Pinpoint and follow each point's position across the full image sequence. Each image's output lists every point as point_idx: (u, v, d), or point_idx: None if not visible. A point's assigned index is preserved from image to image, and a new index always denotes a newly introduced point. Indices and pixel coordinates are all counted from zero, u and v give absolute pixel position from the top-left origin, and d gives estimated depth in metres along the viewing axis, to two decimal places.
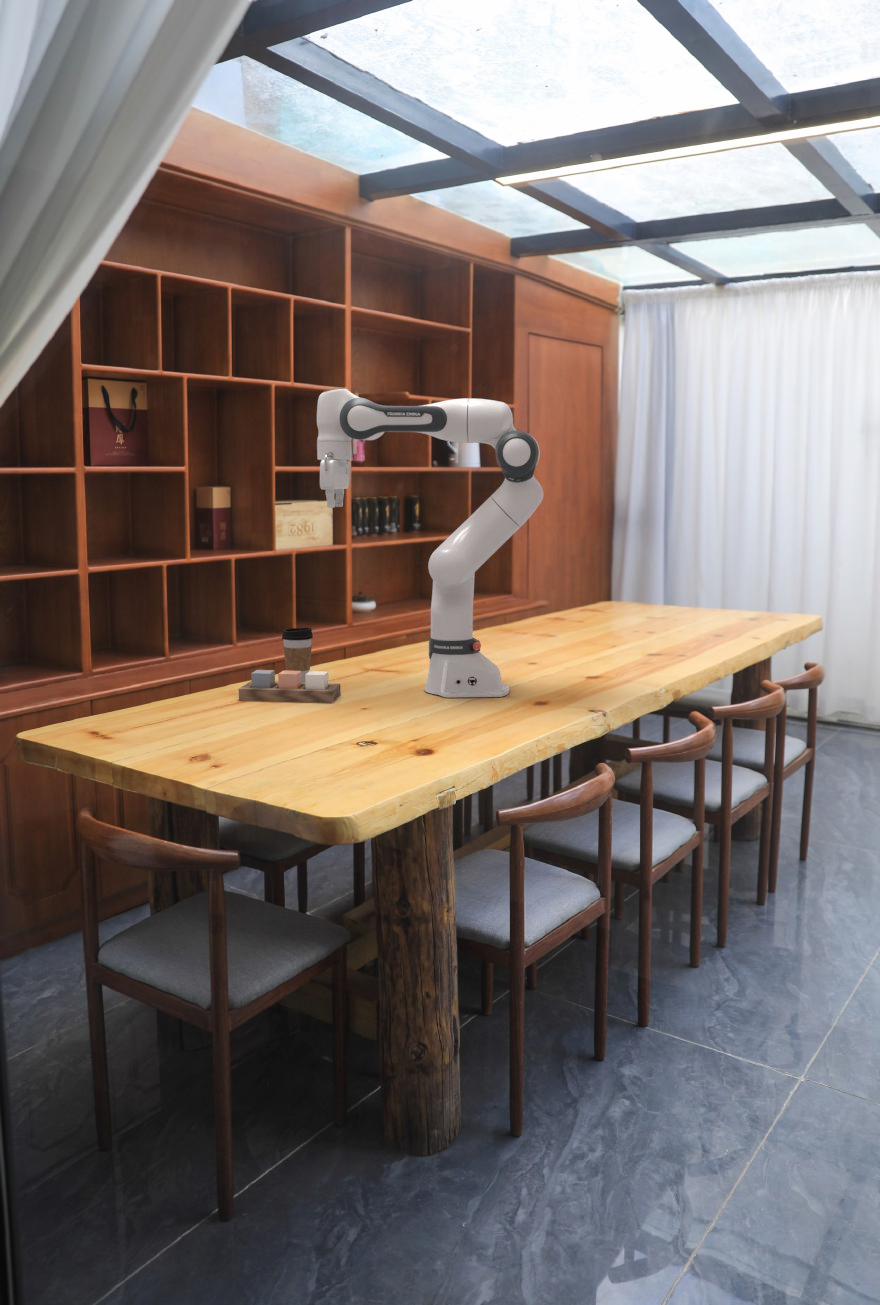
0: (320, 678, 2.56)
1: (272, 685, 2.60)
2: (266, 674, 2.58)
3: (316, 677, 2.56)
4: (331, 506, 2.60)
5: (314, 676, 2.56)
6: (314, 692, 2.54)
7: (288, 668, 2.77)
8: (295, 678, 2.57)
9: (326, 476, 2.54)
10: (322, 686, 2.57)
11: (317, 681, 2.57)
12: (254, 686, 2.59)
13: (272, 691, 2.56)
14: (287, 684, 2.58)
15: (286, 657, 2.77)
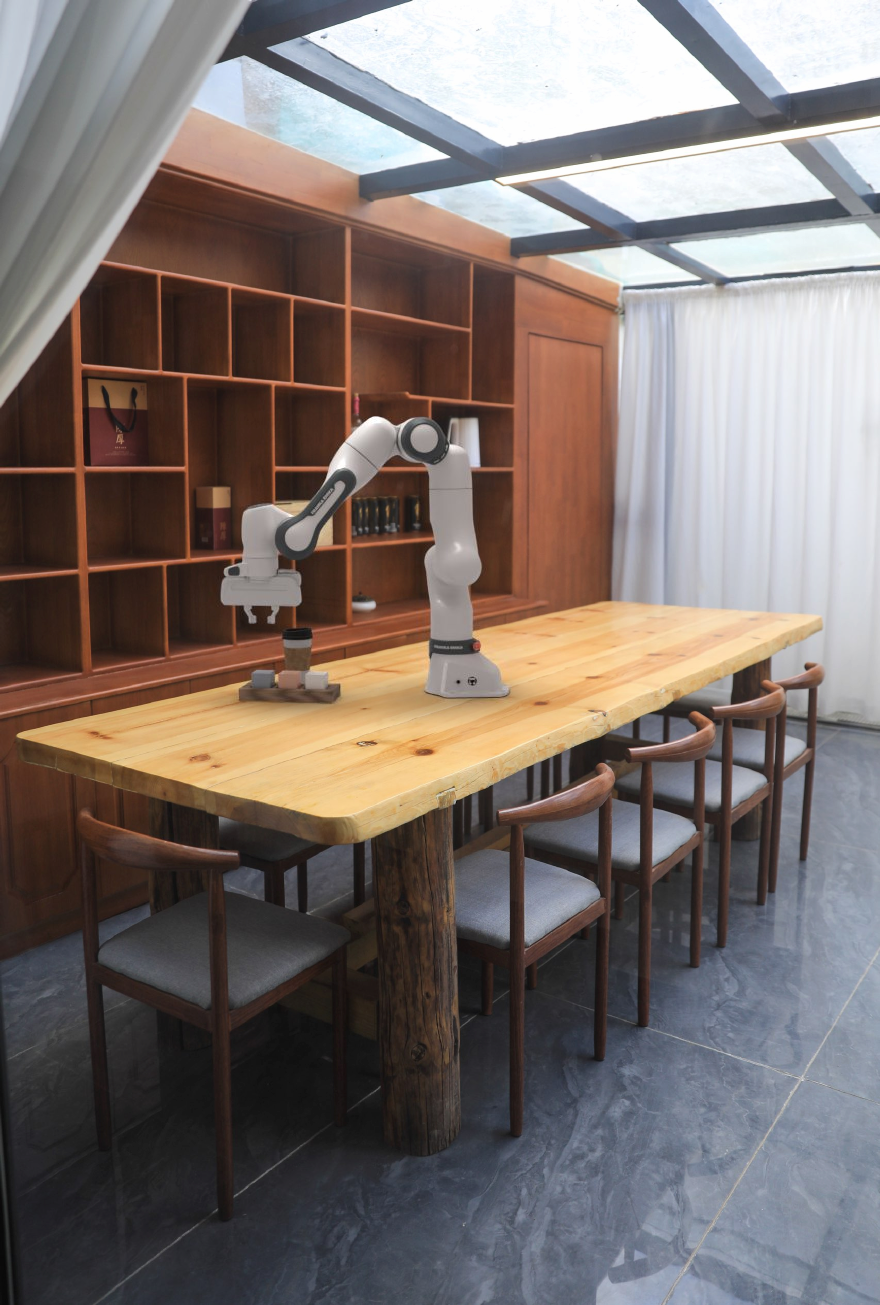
0: (320, 678, 2.56)
1: (272, 685, 2.60)
2: (266, 674, 2.58)
3: (316, 677, 2.56)
4: (274, 622, 2.58)
5: (314, 676, 2.56)
6: (314, 692, 2.54)
7: (288, 668, 2.77)
8: (295, 678, 2.57)
9: (299, 592, 2.56)
10: (322, 686, 2.57)
11: (317, 681, 2.57)
12: (254, 686, 2.59)
13: (272, 691, 2.56)
14: (287, 684, 2.58)
15: (286, 657, 2.77)
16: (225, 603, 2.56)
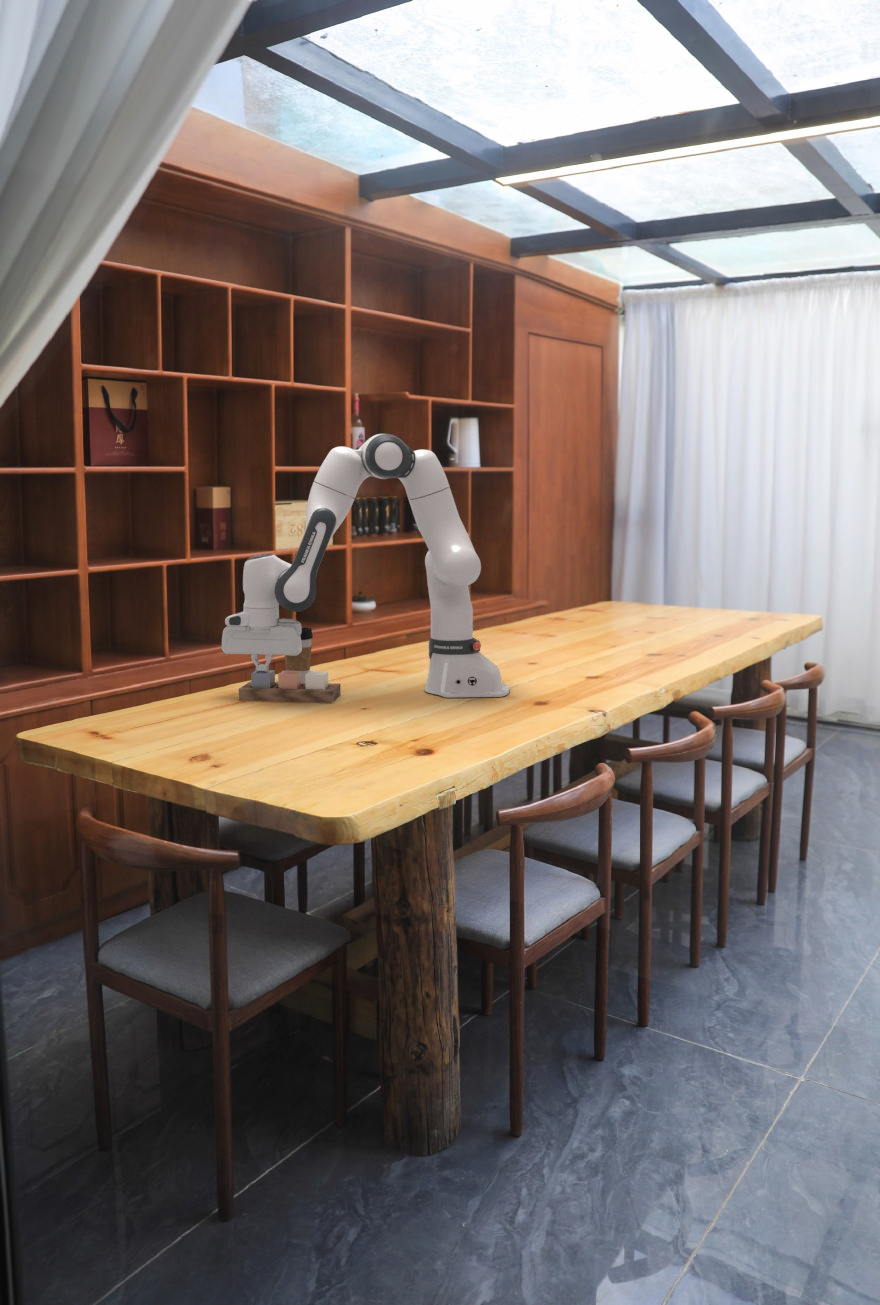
0: (320, 678, 2.56)
1: (272, 685, 2.60)
2: (266, 674, 2.58)
3: (316, 677, 2.56)
4: (268, 670, 2.60)
5: (314, 676, 2.56)
6: (314, 692, 2.54)
7: (288, 668, 2.77)
8: (295, 678, 2.57)
9: (300, 642, 2.58)
10: (322, 686, 2.57)
11: (317, 681, 2.57)
12: (254, 686, 2.59)
13: (272, 691, 2.56)
14: (287, 684, 2.58)
15: (286, 657, 2.77)
16: (226, 652, 2.58)
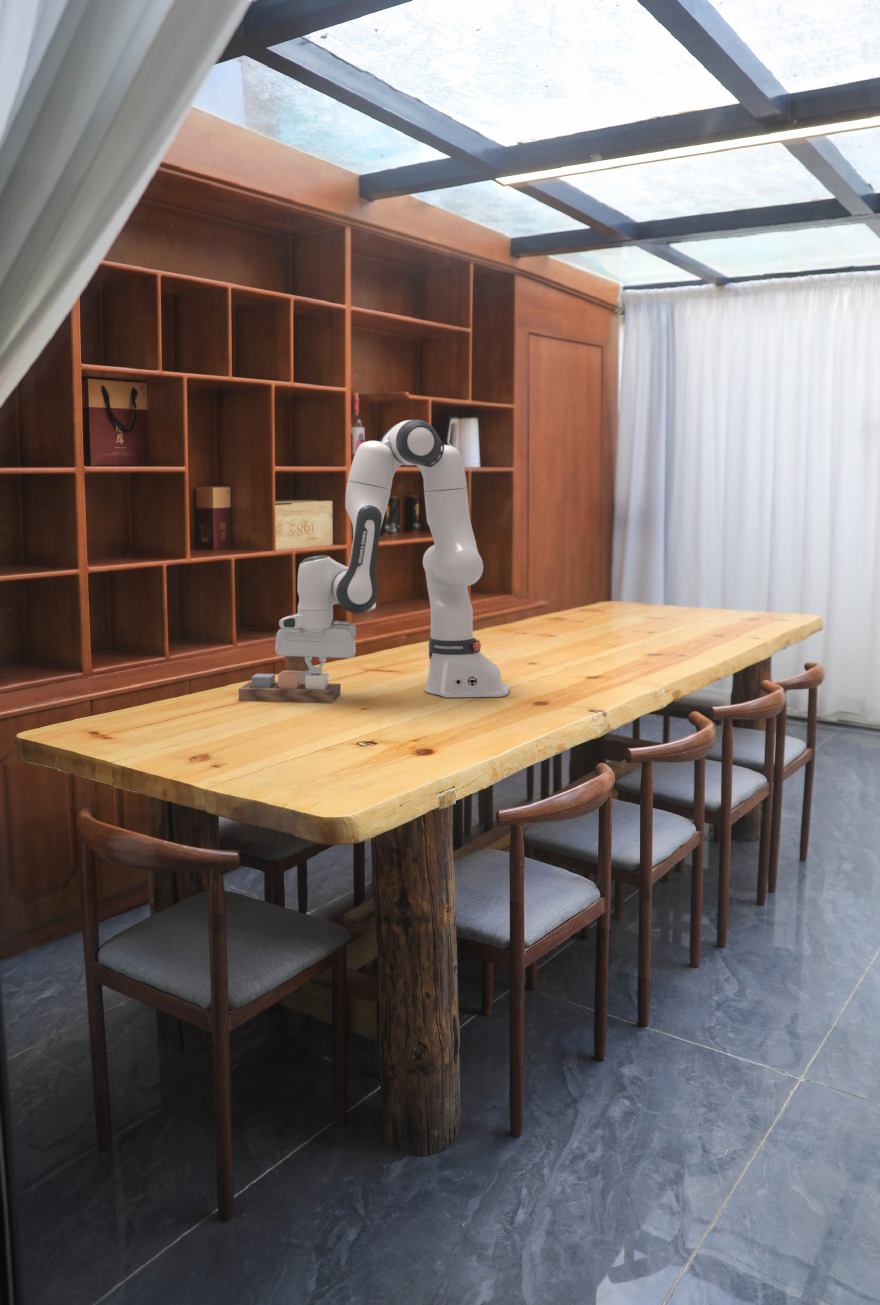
0: (320, 679, 2.56)
1: None
2: (266, 678, 2.58)
3: (316, 678, 2.56)
4: (321, 672, 2.59)
5: (314, 677, 2.56)
6: (314, 692, 2.54)
7: (288, 668, 2.77)
8: (295, 678, 2.57)
9: (354, 644, 2.56)
10: (322, 687, 2.57)
11: (317, 682, 2.57)
12: None
13: (272, 691, 2.56)
14: (287, 684, 2.58)
15: (286, 657, 2.77)
16: (279, 654, 2.57)
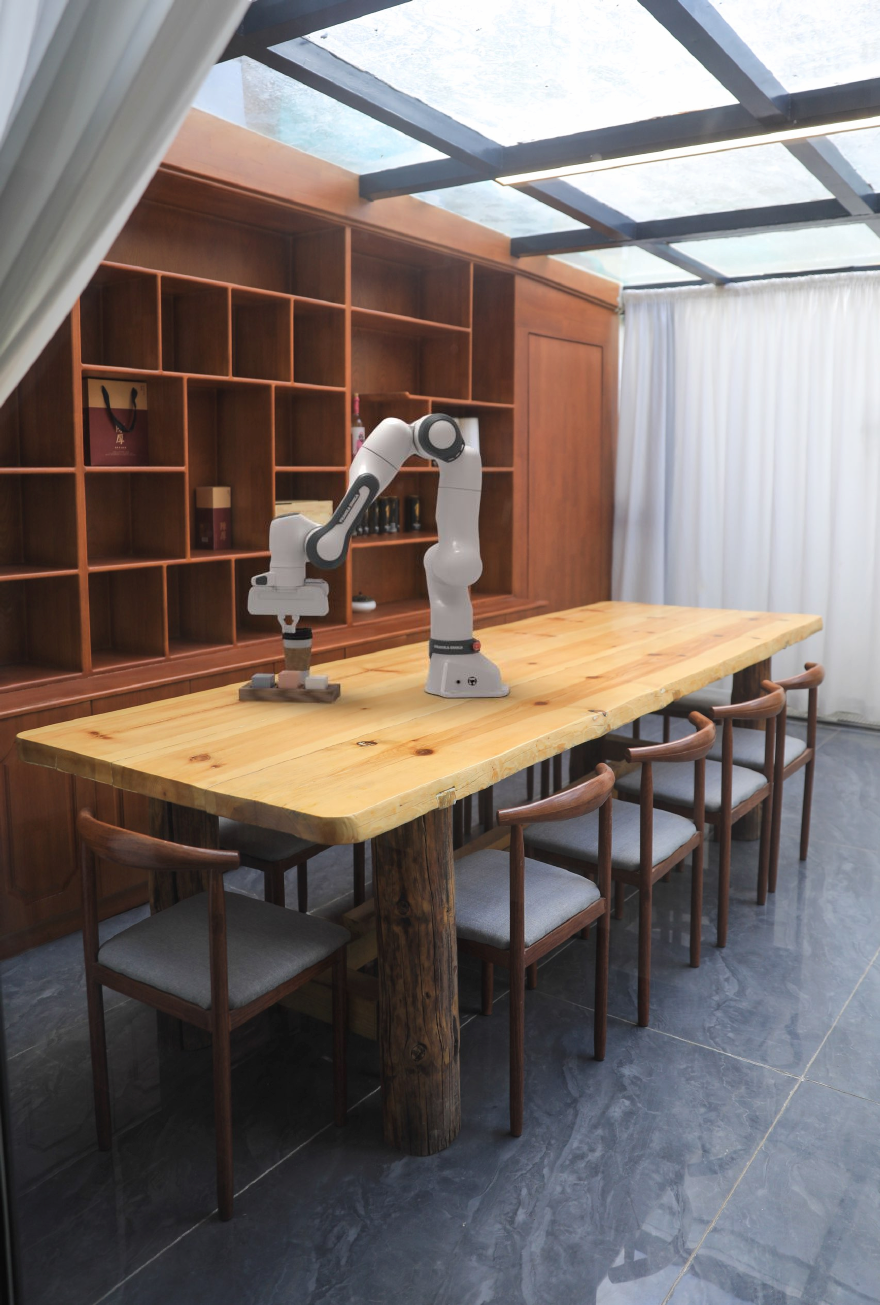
0: (320, 682, 2.56)
1: None
2: (266, 678, 2.58)
3: (316, 681, 2.57)
4: (294, 631, 2.58)
5: (314, 680, 2.57)
6: (314, 692, 2.54)
7: (288, 668, 2.77)
8: (295, 678, 2.57)
9: (326, 602, 2.55)
10: None
11: (317, 685, 2.57)
12: None
13: (272, 691, 2.56)
14: (287, 684, 2.58)
15: (286, 657, 2.77)
16: (252, 612, 2.56)
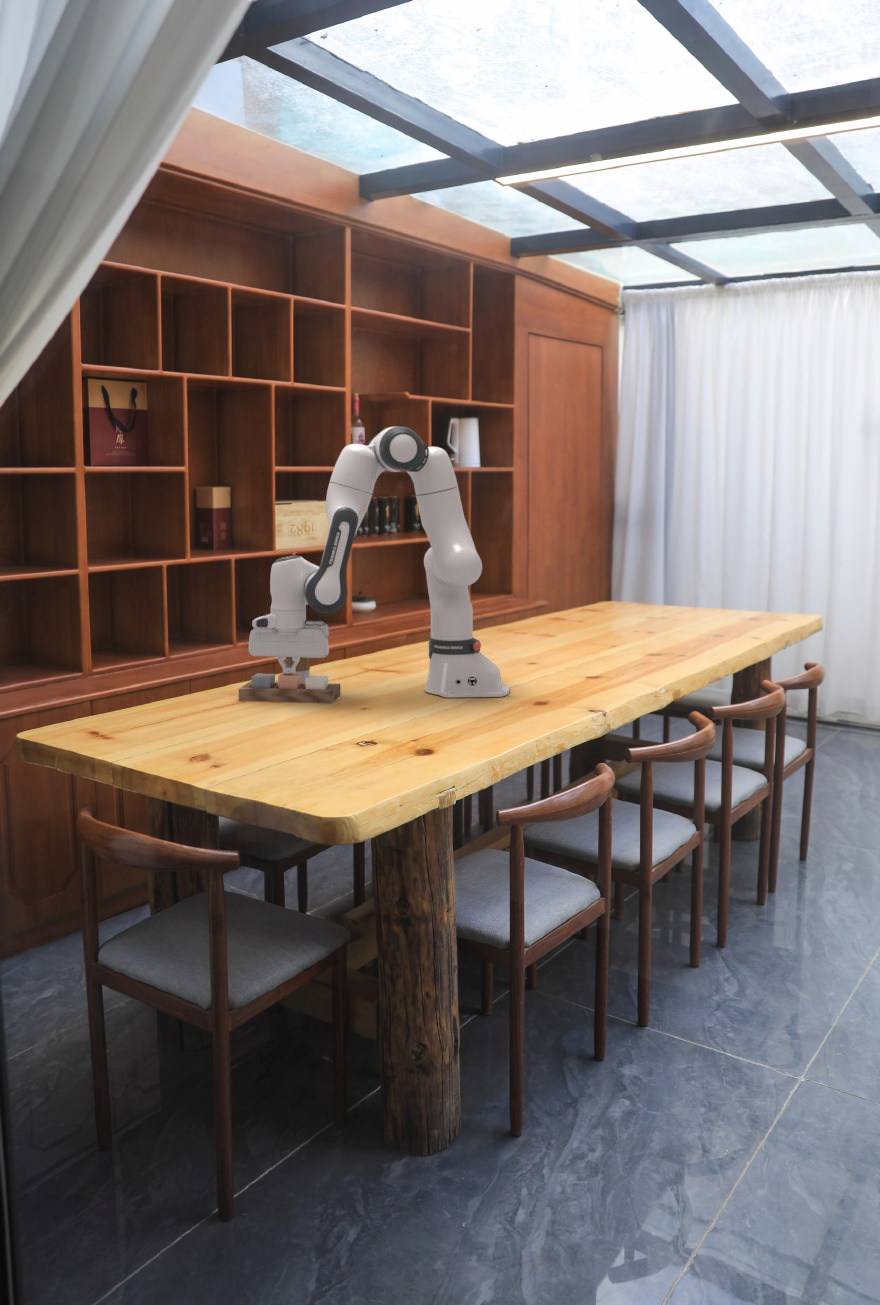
0: (320, 682, 2.56)
1: None
2: (266, 678, 2.58)
3: (316, 681, 2.57)
4: (294, 672, 2.59)
5: (314, 680, 2.57)
6: (314, 692, 2.54)
7: None
8: (295, 680, 2.57)
9: (327, 644, 2.57)
10: None
11: (317, 685, 2.57)
12: None
13: (272, 691, 2.56)
14: (287, 686, 2.58)
15: (286, 657, 2.77)
16: (253, 654, 2.58)
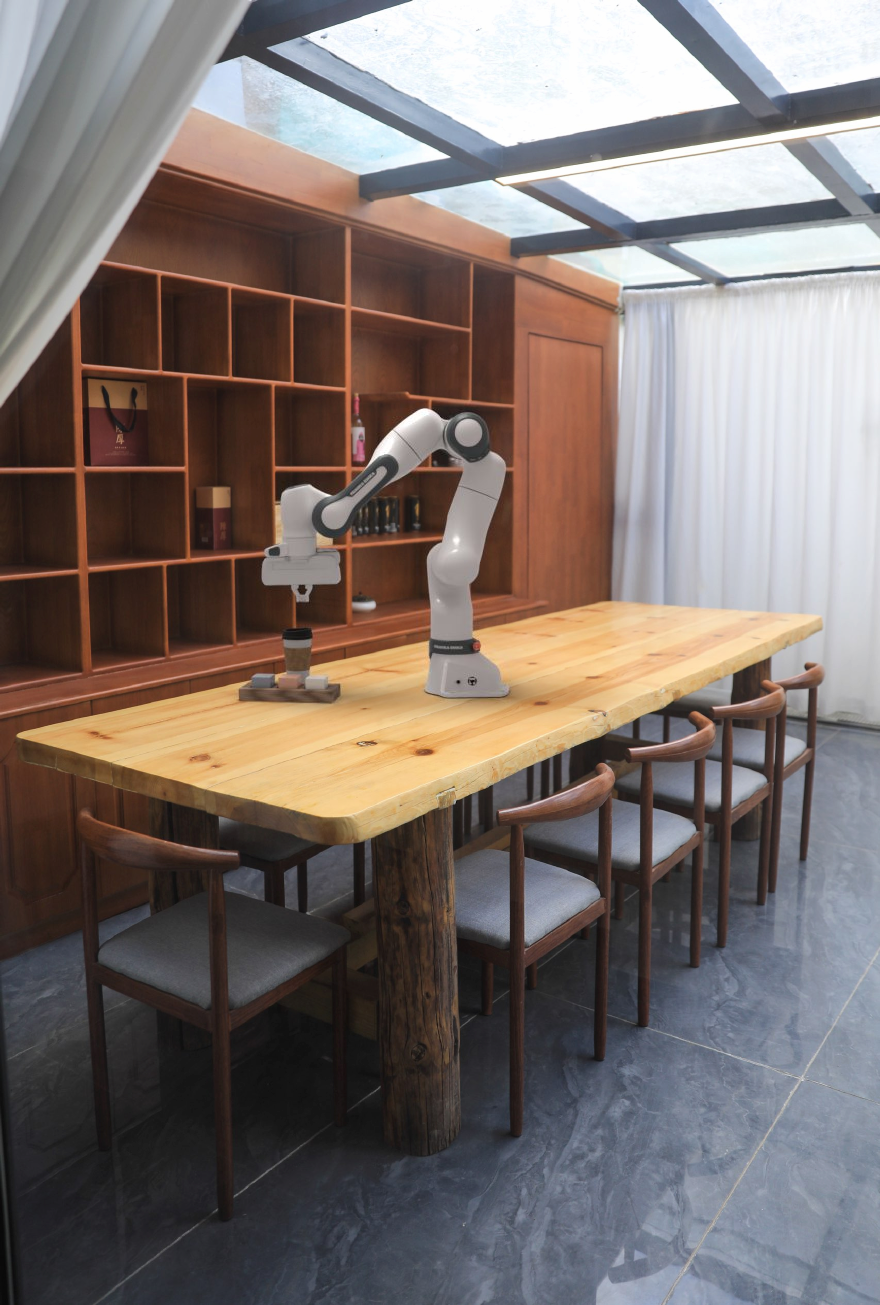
0: (320, 682, 2.56)
1: None
2: (266, 678, 2.58)
3: (316, 681, 2.57)
4: (308, 600, 2.64)
5: (314, 680, 2.57)
6: (314, 692, 2.54)
7: (288, 668, 2.77)
8: (295, 682, 2.57)
9: (338, 570, 2.61)
10: None
11: (317, 685, 2.57)
12: None
13: (272, 691, 2.56)
14: (287, 688, 2.58)
15: (286, 657, 2.77)
16: (266, 583, 2.62)
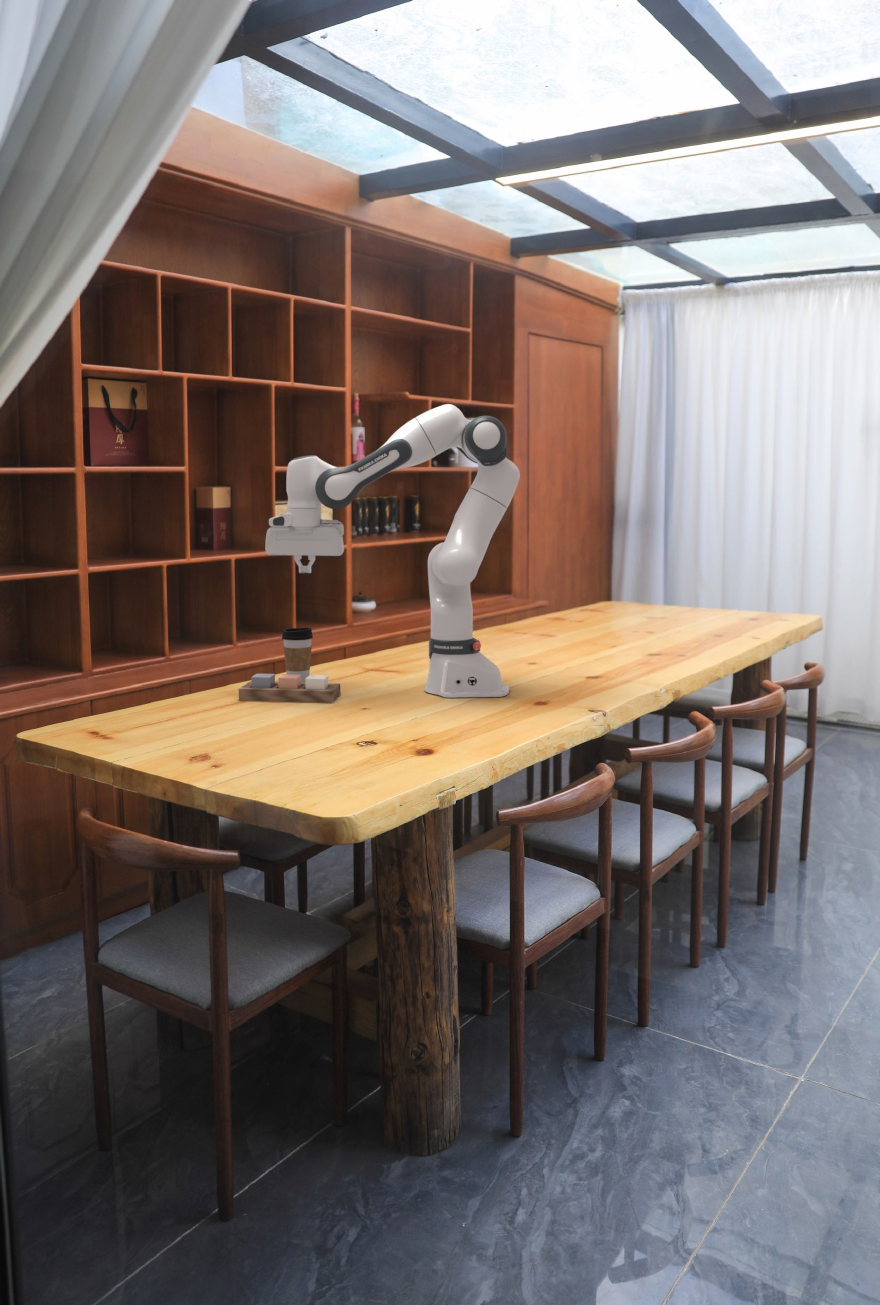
0: (320, 682, 2.56)
1: None
2: (266, 678, 2.58)
3: (316, 681, 2.57)
4: (310, 571, 2.65)
5: (314, 680, 2.57)
6: (314, 692, 2.54)
7: (288, 668, 2.77)
8: (295, 682, 2.57)
9: (342, 543, 2.62)
10: None
11: (317, 685, 2.57)
12: None
13: (272, 691, 2.56)
14: (287, 688, 2.58)
15: (286, 657, 2.77)
16: (269, 553, 2.63)
